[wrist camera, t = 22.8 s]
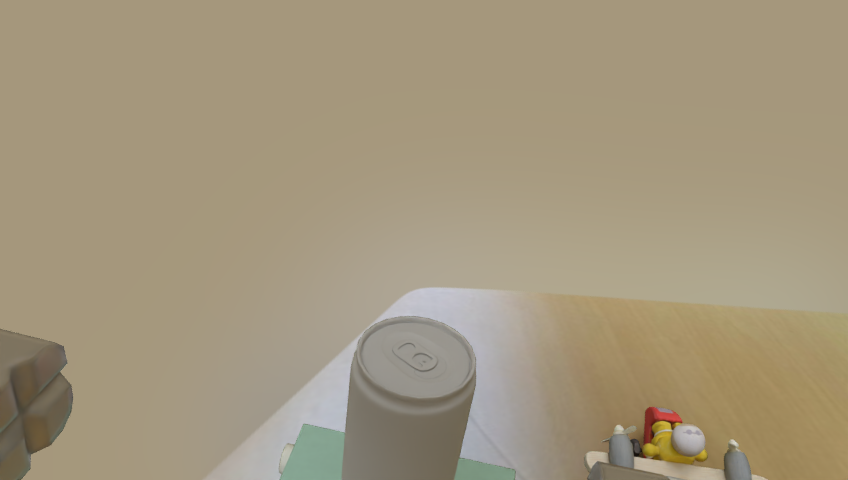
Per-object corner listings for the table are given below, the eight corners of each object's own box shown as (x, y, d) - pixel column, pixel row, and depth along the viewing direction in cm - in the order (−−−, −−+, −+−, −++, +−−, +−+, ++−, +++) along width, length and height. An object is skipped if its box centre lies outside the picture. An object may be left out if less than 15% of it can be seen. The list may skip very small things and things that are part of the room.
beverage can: (386, 619, 28) (420, 422, 22) (313, 542, 30) (325, 347, 24) (457, 547, 31) (505, 359, 25) (386, 484, 34) (413, 298, 27)
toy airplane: (643, 429, 49) (671, 365, 46) (756, 518, 43) (797, 453, 40) (565, 485, 44) (590, 418, 40) (683, 595, 38) (724, 528, 35)
